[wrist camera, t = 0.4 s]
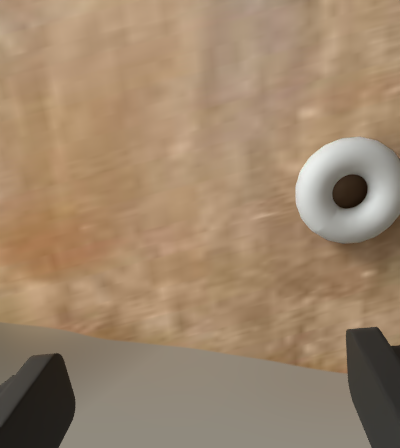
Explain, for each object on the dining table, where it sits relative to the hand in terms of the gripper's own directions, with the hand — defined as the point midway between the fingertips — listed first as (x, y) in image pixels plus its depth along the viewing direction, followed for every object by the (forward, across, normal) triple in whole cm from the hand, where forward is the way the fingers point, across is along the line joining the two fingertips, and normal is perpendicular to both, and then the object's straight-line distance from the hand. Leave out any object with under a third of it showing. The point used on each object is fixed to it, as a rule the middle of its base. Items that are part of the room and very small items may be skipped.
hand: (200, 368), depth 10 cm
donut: (+28, -12, +2) cm, 31 cm away
